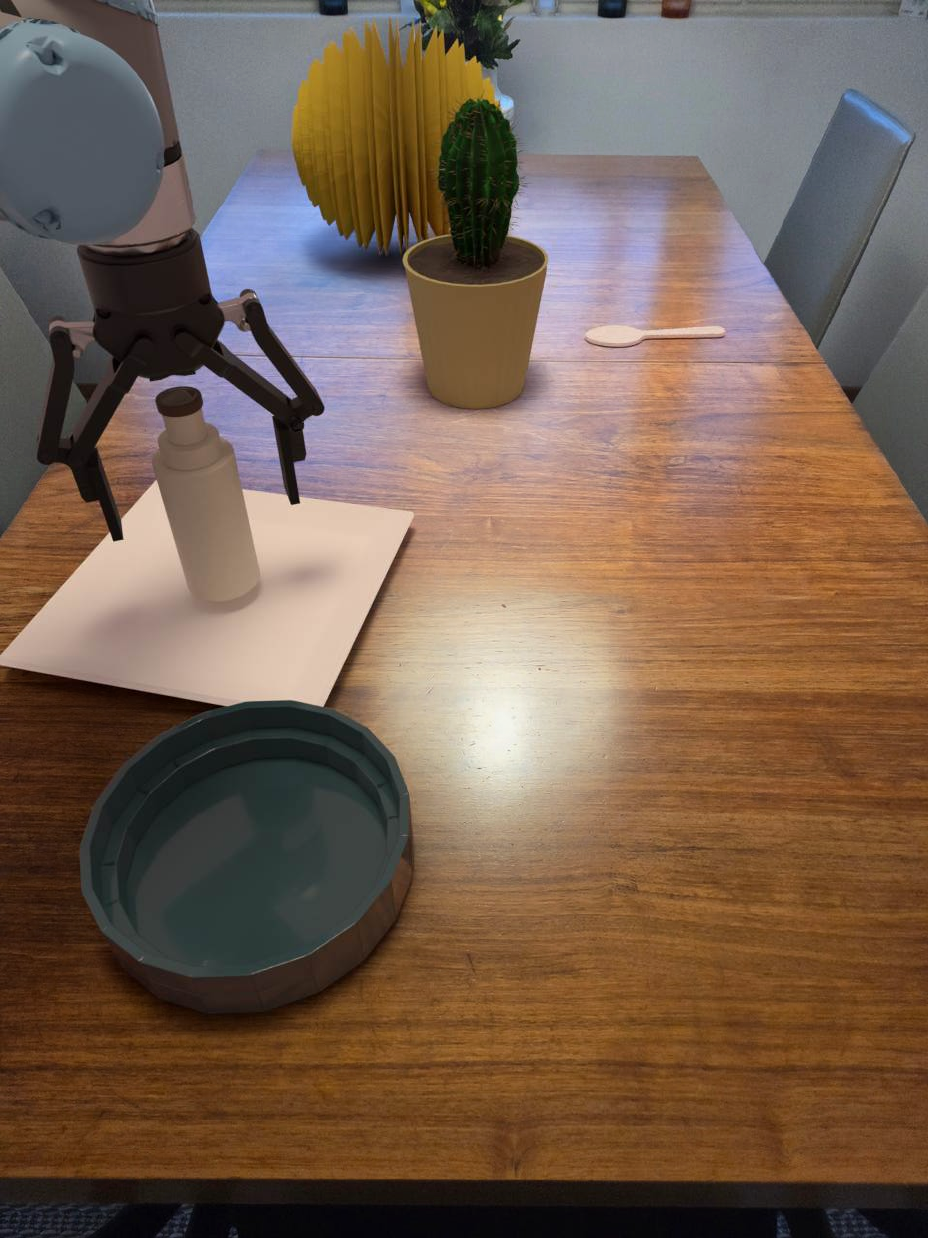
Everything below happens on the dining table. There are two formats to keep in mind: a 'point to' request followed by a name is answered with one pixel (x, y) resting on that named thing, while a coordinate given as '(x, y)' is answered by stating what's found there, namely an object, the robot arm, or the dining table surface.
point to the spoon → (645, 334)
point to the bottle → (203, 500)
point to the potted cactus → (476, 269)
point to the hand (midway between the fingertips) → (207, 513)
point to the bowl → (249, 855)
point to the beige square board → (219, 606)
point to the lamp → (381, 132)
